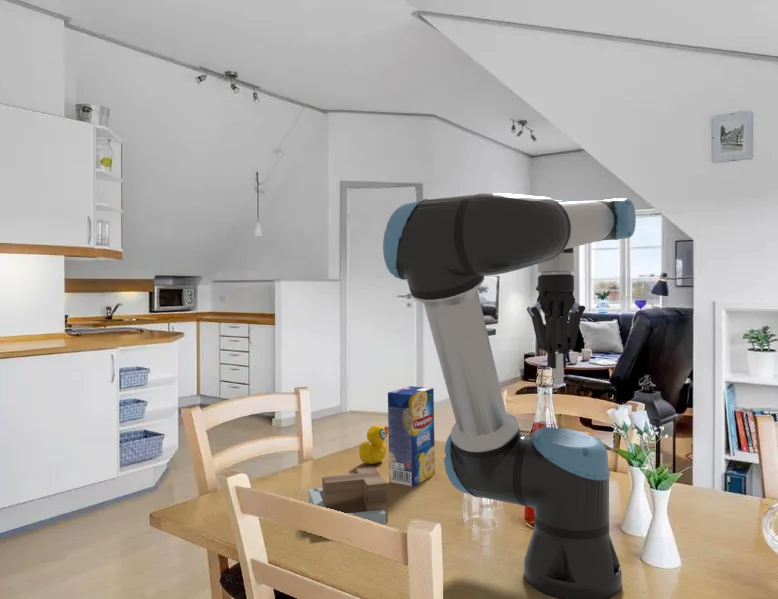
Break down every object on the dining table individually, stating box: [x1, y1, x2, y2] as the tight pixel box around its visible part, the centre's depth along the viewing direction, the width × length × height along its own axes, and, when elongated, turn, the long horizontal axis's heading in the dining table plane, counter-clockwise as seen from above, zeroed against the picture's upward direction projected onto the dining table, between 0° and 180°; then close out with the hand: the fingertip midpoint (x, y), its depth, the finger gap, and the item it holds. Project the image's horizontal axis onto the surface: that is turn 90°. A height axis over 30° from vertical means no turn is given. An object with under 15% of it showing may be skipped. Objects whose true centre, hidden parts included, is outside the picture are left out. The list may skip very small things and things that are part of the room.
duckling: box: [358, 424, 389, 465], centre depth 165 cm, size 11×5×10 cm, turn 143°
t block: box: [321, 466, 389, 523], centre depth 127 cm, size 12×12×8 cm
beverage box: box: [387, 385, 436, 487], centre depth 151 cm, size 7×11×22 cm, turn 147°
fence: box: [308, 487, 387, 526], centre depth 127 cm, size 19×13×3 cm
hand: (557, 383), depth 130 cm, fingers closed
